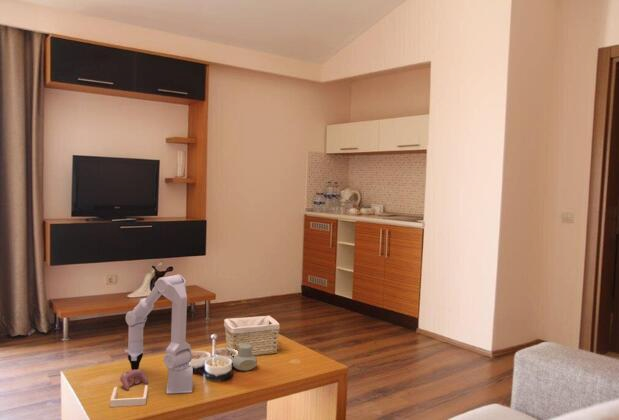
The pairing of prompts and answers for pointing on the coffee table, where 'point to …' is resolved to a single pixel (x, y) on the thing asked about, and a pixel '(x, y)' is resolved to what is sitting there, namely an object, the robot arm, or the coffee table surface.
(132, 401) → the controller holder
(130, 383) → the video game controller
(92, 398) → the coffee table surface
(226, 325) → the storage basket
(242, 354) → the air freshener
